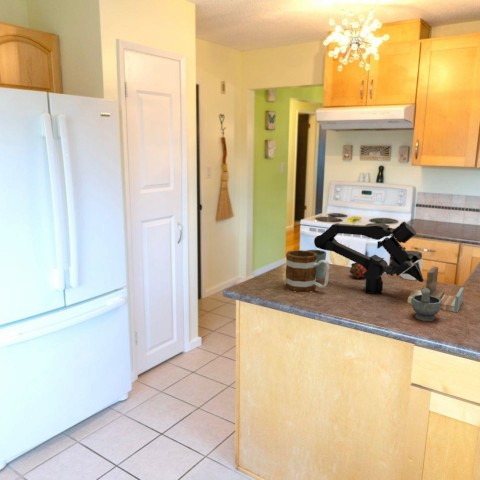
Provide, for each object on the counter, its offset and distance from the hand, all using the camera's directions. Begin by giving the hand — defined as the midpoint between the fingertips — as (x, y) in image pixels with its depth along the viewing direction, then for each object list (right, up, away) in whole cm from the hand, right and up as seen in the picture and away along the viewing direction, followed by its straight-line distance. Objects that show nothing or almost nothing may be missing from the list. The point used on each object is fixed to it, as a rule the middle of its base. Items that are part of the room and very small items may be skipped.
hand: (422, 281), depth 168 cm
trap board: (+4, -8, -1) cm, 9 cm away
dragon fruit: (-15, -1, +33) cm, 36 cm away
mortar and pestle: (-6, -11, -17) cm, 21 cm away
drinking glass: (-37, -1, +32) cm, 49 cm away
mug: (-43, -5, +14) cm, 45 cm away
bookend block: (+4, -6, -2) cm, 7 cm away
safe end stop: (+11, -9, -6) cm, 15 cm away
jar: (+8, -1, +32) cm, 33 cm away
